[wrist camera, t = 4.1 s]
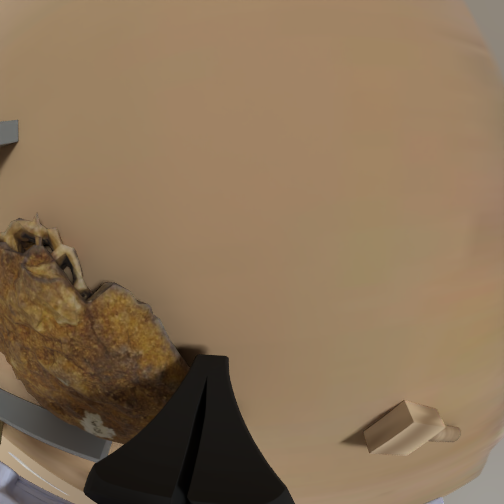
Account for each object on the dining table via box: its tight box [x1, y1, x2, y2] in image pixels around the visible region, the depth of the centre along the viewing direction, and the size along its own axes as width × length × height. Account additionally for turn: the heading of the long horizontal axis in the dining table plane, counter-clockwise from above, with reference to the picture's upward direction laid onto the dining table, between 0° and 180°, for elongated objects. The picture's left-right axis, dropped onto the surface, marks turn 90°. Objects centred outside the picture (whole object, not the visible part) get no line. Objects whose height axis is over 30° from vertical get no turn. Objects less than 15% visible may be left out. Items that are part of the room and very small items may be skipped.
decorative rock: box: [0, 213, 190, 444], centre depth 11 cm, size 11×4×15 cm
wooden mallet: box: [363, 400, 461, 455], centre depth 16 cm, size 12×4×2 cm, turn 59°
